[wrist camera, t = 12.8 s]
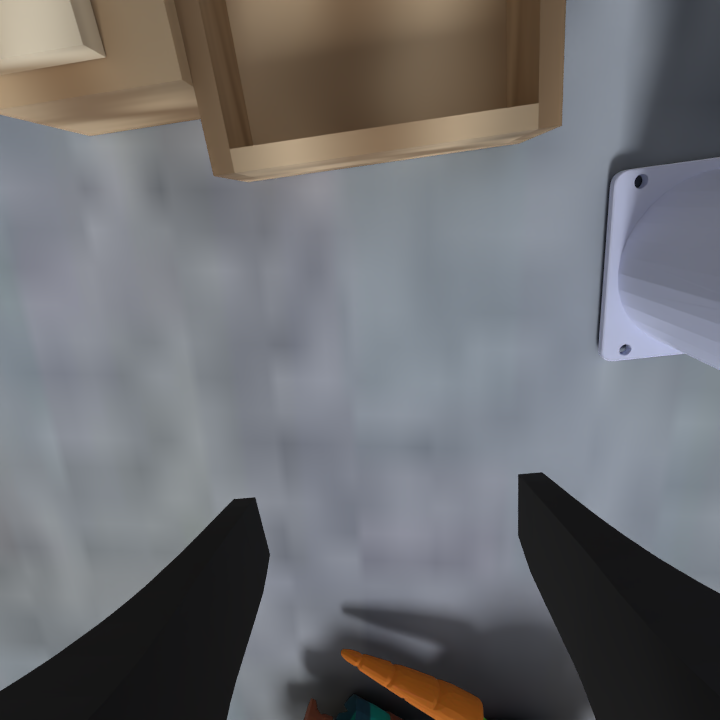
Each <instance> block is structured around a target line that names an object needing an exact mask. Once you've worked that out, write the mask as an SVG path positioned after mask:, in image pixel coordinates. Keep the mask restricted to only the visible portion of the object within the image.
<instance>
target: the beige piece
mask: <svg viewBox="0 0 720 720" xmlns="http://www.w3.org/2000/svg"><path fill="white" fill-rule="evenodd" d="M105 57H106V55H105V52H104V48H103V45H102V41H101V38H100V34H99V31H98V27H97V24H96V20H95V17H94V13H93V10H92V6H91V2H90V0H0V75H4V74H10V73H16V72H22V71H28V70H34V69H40V68H46V67H52V66H58V65H63V64H69V63H75V62H81V61H87V60H93V59H99V58H105Z"/></svg>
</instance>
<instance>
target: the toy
mask: <svg viewBox="0 0 720 720" xmlns="http://www.w3.org/2000/svg"><path fill="white" fill-rule="evenodd" d="M341 656H342V657H343V658H344V659H345V660H346V661H347V662H349V663H350V664H352V665H354V666H357V667H358V669H359V670H360V671H361V672H363V673H364V674H366V675H367V676H369V677H370V678H372V679H373V680H375V681H376V682H378V683H379V684H381V685H382V686H384V687H385V688H387V689H388V690H390V691H392V692H393V693H395V694H396V695H398V696H399V697H401V698H404V699H405V701H407V702H409V703H410V704H412V705H413V706H415V707H416V708H418V709H419V710H421V711H423V712H424V713H426V714H427V715H429V716H430V717H432V718H434V719H435V720H487V719H485V718H484V715H483V704H482V702H481V701H480V699H479V698H478V697H476V696H474V695H472V694H471V693H469V692H467V691H465V690H463V689H461V688H459V687H457V686H455V685H453V684H451V683H448V682H446V681H443V680H439V679H436V678H435V677H433V676H430V675H427V674H425V673H422V672H419V671H417V670H414V669H411V668H408V667H405V666H402V665H397V664H392V663H391V662H390V661H386V660H383V659H380V658H377V657H373V656H370V655H367V654H363V655H362V654H361V653H359V652H357V651H354V650H351V649H343V650H342V651H341ZM344 706H345V707H346V709H347V710H348V712H344V713H339V714H338V716H337V718H336V720H403V719H401V718H399V717H398V716H396V715H394V714H393V713H391V712H389V711H388V712H385V711H384V710H382V709H380V708H379V707H377V706H376V705H374V704H372V703H370V702H368V701H366V700H364V699H363V698H361V697H359V696H357V695H355V694H354V695H352V696H351V697H350V698H349V699H348V700H347V702H346V703H345V704H344ZM304 720H333V716H330V715H327V714H321V713H320V712H319V711H318V709H317V703H316V700H314V699H312V698H311V700H310V702H309V705H308V707H307V711H306V714H305V717H304Z"/></svg>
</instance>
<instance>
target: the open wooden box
mask: <svg viewBox="0 0 720 720" xmlns="http://www.w3.org/2000/svg"><path fill="white" fill-rule="evenodd" d="M90 2H91V6H92V10H93V13H94V17H95V20H96V24H97V27H98V31H99V34H100V38H101V41H102V45H103V48H104V52H105V55H106V57H105V58H99V59H93V60H87V61H81V62H75V63H69V64H63V65H58V66H52V67H46V68H40V69H34V70H28V71H22V72H16V73H10V74H4V75H0V114H1V115H5V116H9V117H13V118H17V119H21V120H26V121H30V122H34V123H38V124H42V125H46V126H51V127H55V128H59V129H63V130H67V131H71V132H75V133H80V134H84V135H88V136H93V135H100V134H106V133H113V132H119V131H126V130H132V129H139V128H145V127H152V126H158V125H164V124H171V123H177V122H184V121H190V120H197V119H201V122H202V127H203V131H204V135H205V140H206V144H207V149H208V153H209V157H210V162H211V166H212V171H213V175H214V176H217V177H222V178H228V179H234V180H239V181H245V182H252V181H259V180H266V179H273V178H280V177H287V176H294V175H301V174H308V173H315V172H322V171H329V170H336V169H343V168H350V167H357V166H364V165H371V164H378V163H385V162H392V161H399V160H407V159H414V158H421V157H428V156H435V155H442V154H449V153H456V152H463V151H470V150H477V149H484V148H491V147H498V146H505V145H512V144H519V143H521V142H524V141H526V140H529V139H531V138H533V137H536V136H538V135H541V134H543V133H545V132H548V131H550V130H553V129H555V128H557V127H560V126H562V102H563V73H564V43H565V14H566V0H90Z"/></svg>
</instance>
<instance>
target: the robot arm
mask: <svg viewBox="0 0 720 720" xmlns="http://www.w3.org/2000/svg"><path fill="white" fill-rule="evenodd" d="M638 175H640V176H641V177H642V184H641V185H640V186H639V188H636V187H635V184H634V181H635V178H636V177H637V176H638ZM625 344H626V349H625V350H624V351H623V352H620V353H619V349H620V347H621V346H622V345H625ZM598 352H599V355H600V356H601V357H602V358H604V359H605V360H607V361H618V360H628V359H638V358H647V357H657V356H666V355H676V354H687V355H689V356H691V357H693V358H696V359H698V360H700V361H702V362H704V363H706V364H708V365H710V366H712V367H714V368H716V369H719V370H720V157H716V158H709V159H701V160H694V161H687V162H679V163H672V164H664V165H657V166H650V167H642V168H635V169H628V170H623V171H620V172H618V173H617V174H616V175H614V177H613V178H612V180H611V184H610V194H609V208H608V222H607V236H606V249H605V263H604V277H603V291H602V305H601V319H600V332H599V346H598ZM518 536H519V539H520V542H521V545H522V548H523V551H524V554H525V557H526V560H527V563H528V566H529V569H530V572H531V574H532V576H533V578H534V581H535V583H536V585H537V587H538V589H539V591H540V593H541V596H542V598H543V600H544V602H545V604H546V606H547V608H548V610H549V612H550V615H551V617H552V619H553V621H554V623H555V625H556V627H557V629H558V631H559V633H560V636H561V638H562V640H563V642H564V644H565V646H566V648H567V650H568V652H569V654H570V657H571V659H572V661H573V663H574V665H575V668H576V670H577V672H578V674H579V677H580V679H581V681H582V684H583V686H584V689H585V692H586V694H587V697H588V700H589V702H590V705H591V708H592V710H593V713H594V715H595V718H596V720H720V593H718V592H716V591H714V590H712V589H710V588H709V587H707V586H705V585H703V584H701V583H700V582H698V581H696V580H694V579H693V578H691V577H689V576H688V575H686V574H684V573H683V572H681V571H679V570H677V569H676V568H674V567H672V566H671V565H669V564H667V563H666V562H664V561H662V560H661V559H659V558H658V557H656V556H654V555H653V554H651V553H650V552H648V551H647V550H645V549H644V548H642V547H641V546H639V545H638V544H636V543H635V542H633V541H632V540H630V539H629V538H627V537H626V536H624V535H623V534H622V533H620V532H619V531H617V530H616V529H615V528H613V527H612V526H610V525H609V524H608V523H606V522H605V521H603V520H602V519H601V518H599V517H598V516H597V515H595V514H594V513H593V512H591V511H590V510H589V509H588V508H586V507H585V506H584V505H582V504H581V503H580V502H579V501H577V500H576V499H575V498H573V497H572V496H571V495H570V494H568V493H567V492H566V491H565V490H563V489H562V488H561V487H560V486H558V485H557V484H556V483H555V482H553V481H552V480H551V479H550V478H548V477H547V476H546V475H545V474H543V473H542V472H541V473H530V474H518ZM269 557H270V553H269V549H268V545H267V541H266V537H265V534H264V530H263V526H262V522H261V518H260V514H259V510H258V507H257V503H256V499H255V497H254V498H243V499H234V500H233V501H232V502H231V503H230V504H229V505H228V506H227V507H226V508H225V509H224V510H223V511H222V512H221V513H220V514H219V515H218V516H217V517H216V518H215V519H214V520H213V521H212V522H211V523H210V524H209V525H208V526H207V527H206V528H205V529H204V530H203V531H202V532H201V533H200V534H199V535H198V536H197V537H196V538H195V539H194V540H193V541H192V542H191V543H190V544H189V545H188V546H187V547H186V548H185V549H184V550H183V551H182V552H181V553H180V554H179V555H178V556H177V557H176V558H175V559H174V560H173V561H172V562H171V563H170V564H169V565H168V566H166V567H165V568H164V569H163V570H162V571H161V572H160V573H159V574H158V575H157V576H156V577H155V578H154V579H153V580H151V581H150V582H149V583H148V584H147V585H146V586H145V587H144V588H143V589H141V590H140V591H139V592H138V593H137V594H136V595H134V596H133V597H132V598H131V599H130V600H129V601H127V602H126V603H125V604H124V605H122V606H121V607H120V608H119V609H117V610H116V611H115V612H114V613H112V614H111V615H110V616H109V617H107V618H106V619H105V620H104V621H102V622H101V623H100V624H98V625H97V626H96V627H94V628H93V629H91V630H90V631H89V632H87V633H86V634H84V635H83V636H82V637H80V638H79V639H78V640H76V641H75V642H73V643H72V644H71V645H69V646H68V647H67V648H65V649H64V650H62V651H61V652H60V653H58V654H57V655H55V656H54V657H52V658H51V659H49V660H48V661H46V662H45V663H43V664H42V665H40V666H39V667H37V668H36V669H34V670H33V671H31V672H30V673H28V674H27V675H25V676H24V677H22V678H20V679H19V680H17V681H16V682H14V683H12V684H11V685H9V686H8V687H6V688H4V689H3V690H1V691H0V720H227V715H228V711H229V706H230V702H231V698H232V694H233V690H234V687H235V683H236V680H237V676H238V673H239V670H240V667H241V663H242V660H243V657H244V654H245V650H246V647H247V644H248V641H249V637H250V634H251V631H252V628H253V625H254V621H255V618H256V615H257V611H258V608H259V605H260V601H261V598H262V594H263V591H264V585H265V580H266V575H267V569H268V563H269Z"/></svg>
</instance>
